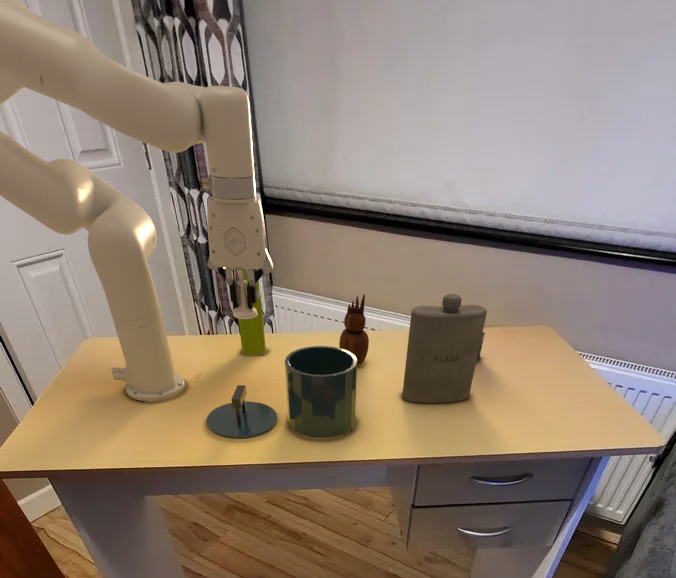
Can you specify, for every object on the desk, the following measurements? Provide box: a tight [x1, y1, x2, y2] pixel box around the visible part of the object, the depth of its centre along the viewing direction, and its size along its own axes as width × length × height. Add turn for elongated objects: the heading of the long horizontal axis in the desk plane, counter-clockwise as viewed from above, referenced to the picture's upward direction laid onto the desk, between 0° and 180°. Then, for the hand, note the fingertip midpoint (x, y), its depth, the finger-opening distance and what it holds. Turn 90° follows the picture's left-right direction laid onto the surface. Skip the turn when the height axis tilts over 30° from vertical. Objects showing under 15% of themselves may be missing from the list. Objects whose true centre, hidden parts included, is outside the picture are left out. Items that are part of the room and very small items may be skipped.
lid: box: [206, 384, 279, 440], centre depth 101 cm, size 14×14×6 cm
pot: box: [284, 345, 358, 439], centre depth 99 cm, size 13×13×12 cm
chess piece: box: [232, 268, 258, 319], centre depth 98 cm, size 5×5×10 cm
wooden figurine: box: [338, 293, 370, 366], centre depth 117 cm, size 7×6×15 cm
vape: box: [237, 269, 267, 356], centre depth 119 cm, size 4×6×20 cm, turn 88°
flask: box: [401, 293, 488, 404], centre depth 104 cm, size 15×6×20 cm, turn 96°
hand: (244, 305), depth 101 cm, fingers closed on chess piece
